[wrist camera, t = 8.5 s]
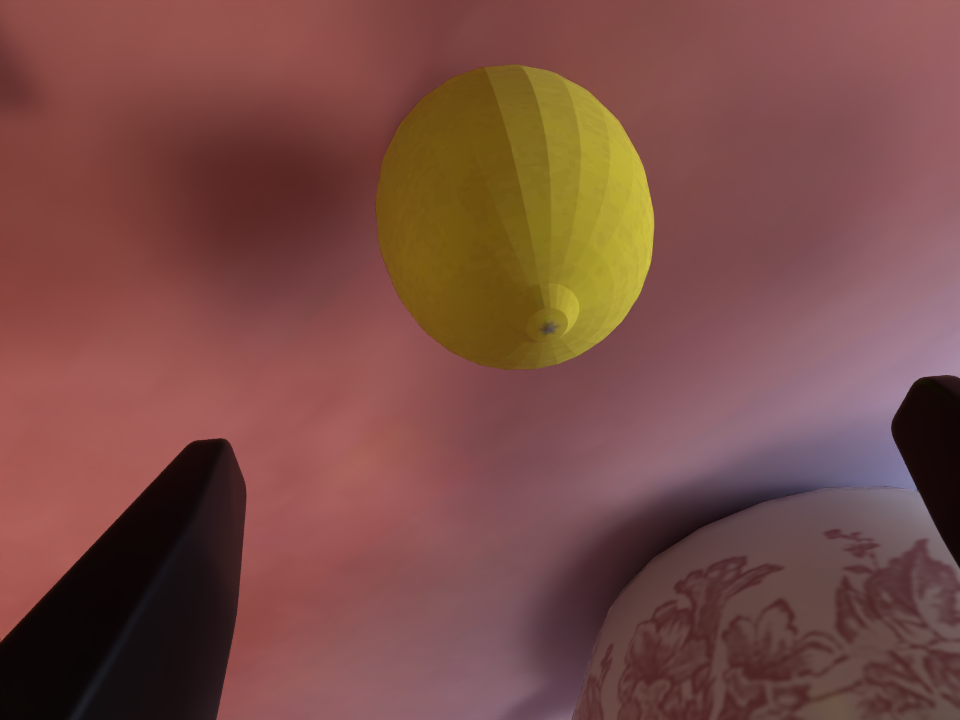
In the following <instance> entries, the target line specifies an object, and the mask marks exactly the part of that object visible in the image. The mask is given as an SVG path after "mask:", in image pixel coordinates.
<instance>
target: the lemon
mask: <svg viewBox="0 0 960 720" xmlns="http://www.w3.org/2000/svg"><path fill="white" fill-rule="evenodd" d="M375 207H376V218H377V229H378V241H379V247H380V251H381V254H382V257H383V260H384V262H385V265H386V267H387V270H388V273H389V275H390V278H391V280H392V283H393V285H394V288H395V290H396V292H397V294H398V296H399V298H400V300H401V301H402V303H403V304H404V305H405V307H406V308H407V310H408V311H409V312H410V313H411V315H412V316H413V317H414V319H415V320H416V321H417V323H418V324H419V325H420V326H421V328H422V329H423V330H424V331H425V332H426V333H427V334H428V335H429V336H431V337H432V338H433V339H435V340H436V341H437V342H438V343H440V344H441V345H442V346H444V347H445V348H446V349H448V350H449V351H451V352H452V353H454V354H456V355H459V356H461V357H463V358H465V359H468V360H470V361H472V362H475V363H477V364H479V365H484V366H489V367H494V368H500V369H508V370H511V369H537V368H542V367H547V366H552V365H557V364H559V363H562V362H564V361H567V360H569V359H571V358H574V357H576V356H579V355H581V354H582V353H584V352H585V351H587V350H588V349H590V348H591V347H593V346H594V345H596V344H597V343H599V342H600V341H602V340H603V339H604V338H605V337H606V336H607V335H608V334H609V333H610V332H611V331H613V330H614V329H615V328H616V327H617V326H618V325H619V324H620V323H621V322H622V321H623V319H624V318H625V316H626V315H627V313H628V312H629V310H630V309H631V307H632V306H633V304H634V302H635V301H636V299H637V298H638V296H639V294H640V292H641V289H642V287H643V284H644V281H645V278H646V275H647V273H648V270H649V267H650V264H651V257H652V248H653V236H654V213H653V207H652V202H651V198H650V193H649V188H648V184H647V179H646V174H645V171H644V168H643V165H642V162H641V160H640V158H639V156H638V154H637V152H636V150H635V149H634V147H633V145H632V143H631V141H630V139H629V138H628V136H627V134H626V132H625V130H624V129H623V127H622V125H621V124H620V122H619V121H618V120H617V119H616V118H615V117H614V116H613V115H612V114H611V113H610V112H609V111H608V110H607V109H606V108H605V107H604V106H603V105H602V104H601V103H600V102H599V101H598V100H597V99H596V98H595V97H594V96H593V95H592V94H591V93H590V92H589V91H587V90H586V89H584V88H583V87H581V86H579V85H577V84H575V83H573V82H571V81H569V80H567V79H565V78H564V77H562V76H560V75H558V74H556V73H554V72H551V71H548V70H543V69H538V68H532V67H527V66H522V65H517V64H514V65H501V66H488V67H480V68H477V69H475V70H472V71H469V72H466V73H463V74H461V75H458V76H455V77H452V78H450V79H449V80H447V81H446V82H444V83H443V84H442V85H440V86H439V87H437V88H436V89H434V90H433V91H431V92H430V93H429V94H427V95H426V96H424V97H423V98H422V99H421V100H420V101H419V102H418V103H417V105H416V106H415V107H414V108H413V109H412V110H411V112H410V113H409V114H408V115H407V116H406V117H405V119H404V120H403V121H402V122H401V123H400V125H399V127H398V129H397V131H396V133H395V135H394V137H393V139H392V141H391V143H390V145H389V147H388V149H387V152H386V154H385V156H384V158H383V161H382V165H381V171H380V176H379V182H378V188H377V193H376V201H375Z"/></svg>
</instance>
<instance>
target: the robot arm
mask: <svg viewBox="0 0 960 720" xmlns="http://www.w3.org/2000/svg"><path fill="white" fill-rule="evenodd" d="M891 431H892V436H893V439H894V441H895V443H896V445H897V447H898V449H899V451H900V453H901V456H902V458H903V460H904V462H905V464H906V466H907V468H908V470H909V472H910V474H911V476H912V479H913V481H914V483H915V485H916V487H917V489H918V491H919V493H920V495H921V497H922V499H923V502H924V504H925V506H926V508H927V510H928V512H929V514H930V516H931V518H932V520H933V522H934V524H935V526H936V528H937V530H938V532H939V534H940V536H941V538H942V540H943V541H944V543H945V545H946V547H947V548H948V550H949V552H950V554H951V555H952V557H953V559H954V560H955V562H956V563H957V565H958V567H959V568H960V378H958V377H956V376H951V375H942V376H931V377H923V378H920V379H918V380H917V381H915V382H914V384H913V385H912V386H911V388H910V390H909V392H908V393H907V395H906V397H905V399H904V400H903V402H902V404H901V406H900V407H899V409H898V411H897V413H896V414H895V416H894V418H893V420H892V425H891ZM245 511H246V485H245V481H244V478H243V475H242V473H241V470H240V467H239V465H238V462H237V459H236V457H235V454H234V452H233V449H232V446H231V444H230V443H229V442H228V441H227V440H226V439H222V438H219V439H208V440H197V441H193V442H191V443H190V444H188V445H187V446H186V447H185V448H184V449H183V450H182V451H181V452H180V453H179V455H178V456H177V457H176V458H175V459H174V460H173V461H172V462H171V463H170V464H169V465H168V466H167V467H166V468H165V469H164V470H163V471H162V472H161V474H160V475H159V476H158V477H157V478H156V479H155V480H154V481H153V482H152V483H151V484H150V485H149V486H148V487H147V488H146V489H145V490H144V491H143V492H142V494H141V495H140V496H139V497H138V498H137V499H136V500H135V501H134V502H133V503H132V504H131V505H130V506H129V507H128V508H127V509H126V510H125V511H124V513H123V514H122V515H121V516H120V517H119V518H118V519H117V520H116V521H115V522H114V523H113V524H112V525H111V526H110V527H109V528H108V529H107V530H106V531H105V533H104V534H103V535H102V536H101V537H100V538H99V539H98V540H97V541H96V542H95V543H94V544H93V545H92V546H91V547H90V548H89V549H88V550H87V552H86V553H85V554H84V555H83V556H82V557H81V558H80V559H79V560H78V561H77V562H76V563H75V564H74V565H73V566H72V567H71V568H70V569H69V570H68V572H67V573H66V574H65V575H64V576H63V577H62V578H61V579H60V580H59V581H58V582H57V583H56V584H55V585H54V586H53V587H52V588H51V589H50V591H49V592H48V593H47V594H46V595H45V596H44V597H43V598H42V599H41V600H40V601H39V602H38V603H37V604H36V605H35V606H34V607H33V608H32V609H31V611H30V612H29V613H28V614H27V615H26V616H25V617H24V618H23V619H22V620H21V621H20V622H19V623H18V624H17V625H16V626H15V627H14V628H13V630H12V631H11V632H10V633H9V634H8V635H7V636H6V637H5V638H4V639H3V640H2V641H1V642H0V720H216V719H217V714H218V709H219V704H220V699H221V694H222V689H223V684H224V679H225V674H226V669H227V664H228V659H229V654H230V649H231V644H232V639H233V634H234V628H235V622H236V616H237V608H238V598H239V586H240V574H241V561H242V548H243V536H244V523H245Z"/></svg>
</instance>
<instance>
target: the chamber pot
mask: <svg viewBox="0 0 960 720" xmlns="http://www.w3.org/2000/svg"><path fill="white" fill-rule="evenodd" d="M571 720H960V568H959V567H958V565H957V563H956V562H955V560H954V559H953V557H952V555H951V554H950V552H949V550H948V548H947V547H946V545H945V543H944V541H943V540H942V538H941V536H940V534H939V532H938V530H937V528H936V526H935V524H934V522H933V520H932V518H931V516H930V514H929V512H928V510H927V508H926V506H925V504H924V502H923V499H922V497H921V495H920V493H919V491H915V490H911V489H904V488H897V487H890V486H862V487H827V488H823V489H818V490H814V491H810V492H805V493H801V494H796V495H792V496H787V497H783V498H779V499H774V500H770V501H765V502H762V503H759V504H757V505H754V506H752V507H750V508H747V509H745V510H742V511H740V512H737V513H735V514H733V515H730V516H728V517H725V518H723V519H720V520H718V521H716V522H713V523H711V524H708V525H706V526H703V527H701V528H700V529H698V530H696V531H695V532H693V533H692V534H690V535H689V536H687V537H685V538H684V539H682V540H681V541H679V542H678V543H676V544H674V545H673V546H671V547H670V548H668V549H667V550H665V551H664V552H662V553H660V554H659V555H657V556H656V557H654V558H653V559H651V560H650V562H649V563H648V564H647V565H646V566H645V567H644V568H643V569H642V570H641V571H640V572H639V573H638V574H637V575H636V576H635V577H634V578H633V579H632V580H631V581H630V582H629V583H628V584H627V585H626V586H625V587H624V588H623V589H622V590H621V591H620V593H619V594H618V596H617V598H616V599H615V601H614V602H613V604H612V605H611V607H610V609H609V611H608V613H607V616H606V618H605V620H604V623H603V625H602V627H601V630H600V632H599V634H598V637H597V639H596V641H595V645H594V648H593V651H592V654H591V658H590V661H589V664H588V667H587V671H586V674H585V677H584V680H583V684H582V687H581V690H580V693H579V697H578V700H577V703H576V706H575V710H574V713H573V716H572V719H571Z"/></svg>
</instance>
